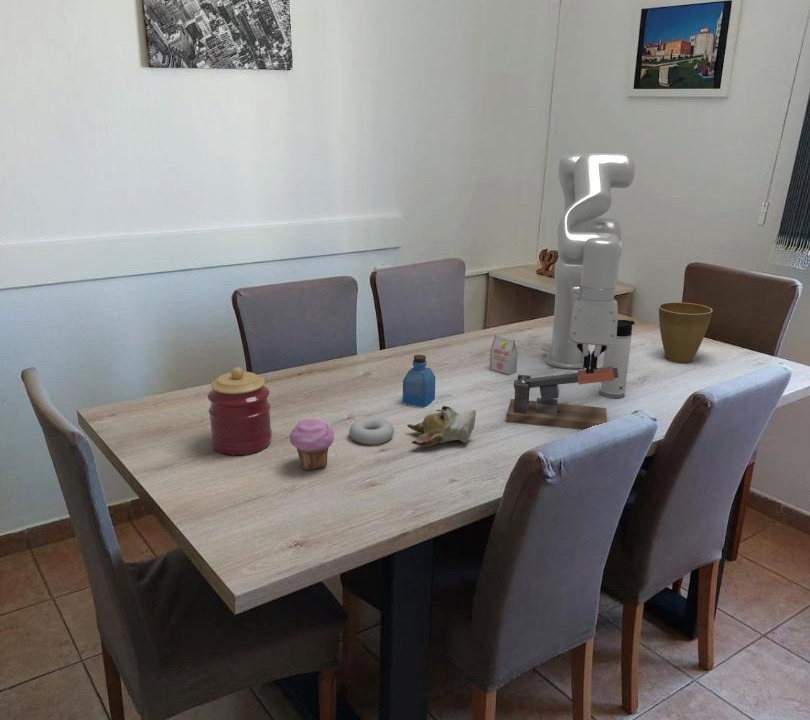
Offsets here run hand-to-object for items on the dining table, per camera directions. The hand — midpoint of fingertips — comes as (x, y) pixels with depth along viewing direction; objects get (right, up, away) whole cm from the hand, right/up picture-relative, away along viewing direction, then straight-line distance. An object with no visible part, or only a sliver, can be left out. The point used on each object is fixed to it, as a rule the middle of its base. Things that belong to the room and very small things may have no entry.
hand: (589, 371), depth 165 cm
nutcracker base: (-6, -11, +6) cm, 15 cm away
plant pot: (+40, +3, +50) cm, 64 cm away
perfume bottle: (-39, -8, +16) cm, 43 cm away
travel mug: (+12, -7, +22) cm, 26 cm away
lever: (-4, -5, +3) cm, 8 cm away
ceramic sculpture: (-35, -16, -6) cm, 38 cm away
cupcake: (-62, -19, -18) cm, 67 cm away
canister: (-79, -16, -9) cm, 81 cm away
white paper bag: (-15, -1, +38) cm, 41 cm away
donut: (-50, -15, -5) cm, 53 cm away
